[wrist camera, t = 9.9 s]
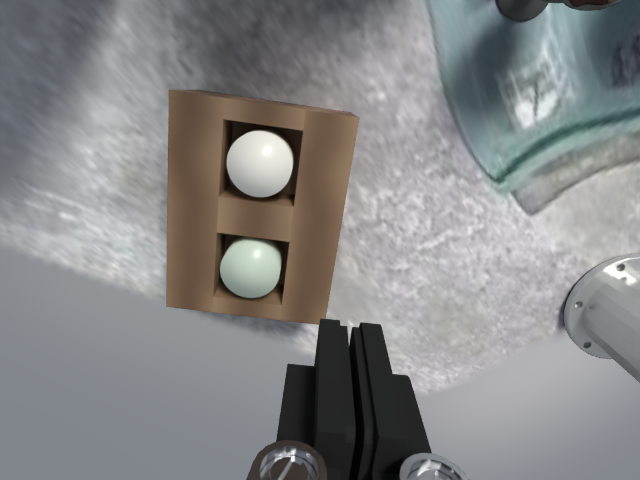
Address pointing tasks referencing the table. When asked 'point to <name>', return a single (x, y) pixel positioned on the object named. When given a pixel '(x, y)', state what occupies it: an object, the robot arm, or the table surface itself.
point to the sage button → (251, 266)
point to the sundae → (526, 3)
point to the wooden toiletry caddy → (254, 203)
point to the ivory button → (261, 162)
